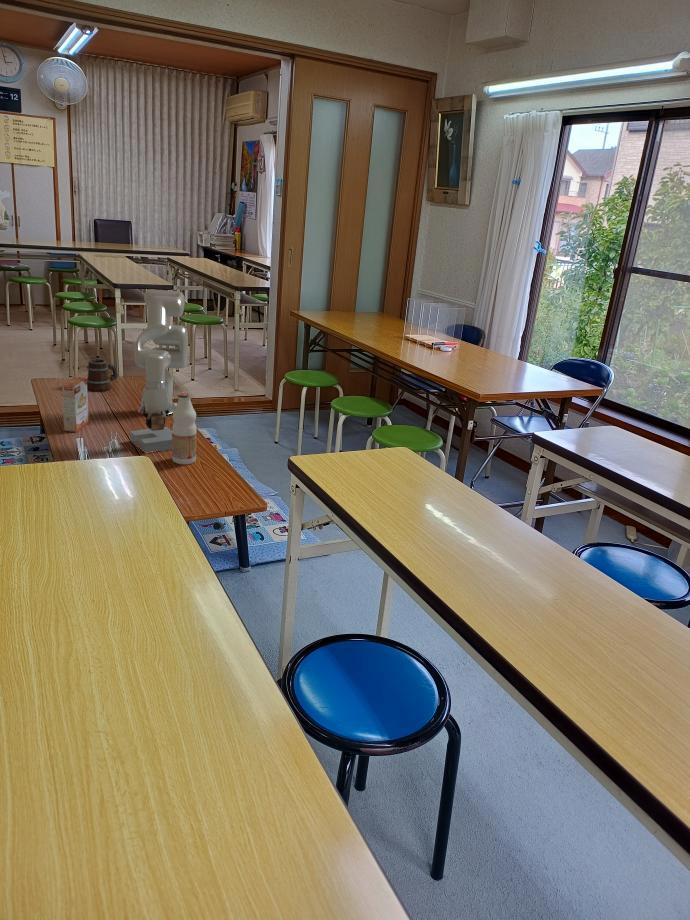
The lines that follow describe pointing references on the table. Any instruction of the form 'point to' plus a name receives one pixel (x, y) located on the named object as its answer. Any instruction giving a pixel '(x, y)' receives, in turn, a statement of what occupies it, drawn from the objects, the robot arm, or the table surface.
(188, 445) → the fruit juice
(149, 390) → the robot arm
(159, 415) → the walnut block
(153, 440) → the grey box
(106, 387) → the mug
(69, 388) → the cracker box
